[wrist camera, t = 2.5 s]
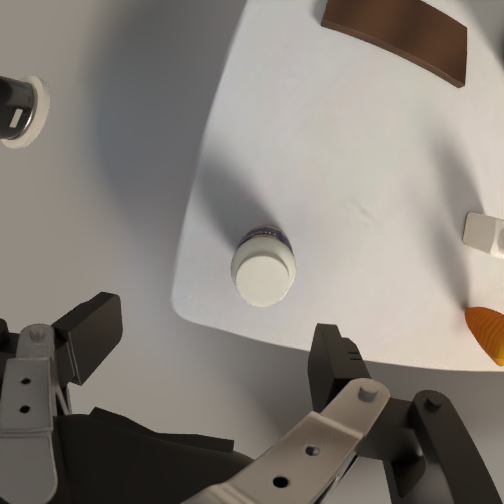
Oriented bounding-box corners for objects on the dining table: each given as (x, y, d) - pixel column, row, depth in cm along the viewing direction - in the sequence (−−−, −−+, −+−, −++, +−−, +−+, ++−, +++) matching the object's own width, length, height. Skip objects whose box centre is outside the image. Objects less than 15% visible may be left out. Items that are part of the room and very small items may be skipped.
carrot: (463, 288, 30) (536, 341, 16) (484, 298, 31) (553, 348, 16) (446, 322, 32) (510, 387, 17) (468, 330, 32) (529, 389, 17)
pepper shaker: (487, 216, 28) (537, 230, 19) (481, 247, 29) (529, 268, 20) (465, 210, 28) (517, 223, 19) (460, 243, 29) (509, 264, 20)
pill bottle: (278, 216, 30) (281, 232, 21) (299, 263, 31) (310, 298, 22) (230, 238, 31) (212, 264, 21) (252, 283, 32) (244, 325, 22)
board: (320, 26, 25) (322, 19, 23) (335, -27, 22) (337, -34, 21) (458, 88, 25) (465, 85, 23) (461, 31, 22) (467, 27, 21)
